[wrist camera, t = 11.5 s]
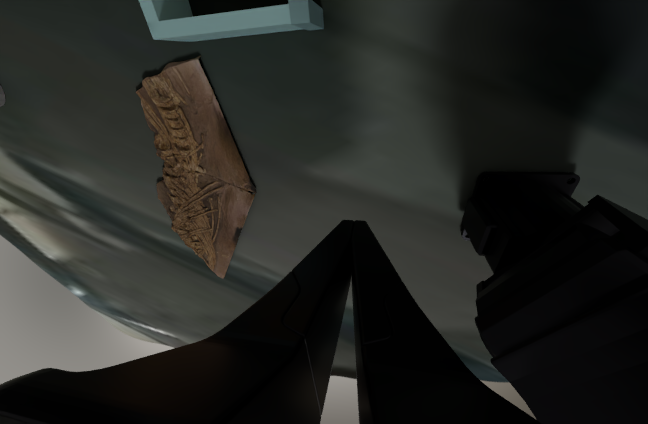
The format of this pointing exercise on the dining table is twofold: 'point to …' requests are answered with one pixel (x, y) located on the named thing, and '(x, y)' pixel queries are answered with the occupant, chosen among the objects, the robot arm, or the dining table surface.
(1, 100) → the beverage cup
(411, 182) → the dining table surface
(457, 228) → the dining table surface
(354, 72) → the dining table surface
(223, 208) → the brown carved slab
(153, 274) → the dining table surface
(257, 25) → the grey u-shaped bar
